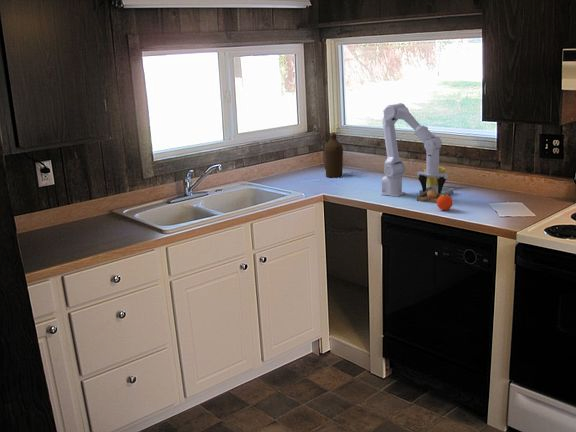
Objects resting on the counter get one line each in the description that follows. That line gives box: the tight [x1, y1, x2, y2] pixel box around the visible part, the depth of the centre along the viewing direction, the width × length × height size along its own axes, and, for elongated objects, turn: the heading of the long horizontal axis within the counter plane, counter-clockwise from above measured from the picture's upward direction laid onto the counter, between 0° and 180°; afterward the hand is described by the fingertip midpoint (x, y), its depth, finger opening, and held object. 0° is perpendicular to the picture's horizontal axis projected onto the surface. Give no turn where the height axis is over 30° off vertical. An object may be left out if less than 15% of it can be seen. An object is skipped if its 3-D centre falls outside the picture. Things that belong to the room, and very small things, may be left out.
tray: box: [416, 193, 441, 204], centre depth 295 cm, size 11×9×2 cm
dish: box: [418, 186, 454, 196], centre depth 305 cm, size 12×12×2 cm
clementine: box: [436, 195, 454, 211], centre depth 277 cm, size 8×7×7 cm
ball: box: [427, 189, 437, 198], centre depth 294 cm, size 5×5×5 cm
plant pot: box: [423, 166, 446, 188], centre depth 319 cm, size 10×10×10 cm
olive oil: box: [323, 131, 344, 179], centre depth 355 cm, size 11×11×25 cm
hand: (432, 192), depth 294 cm, fingers open, 7 cm apart
